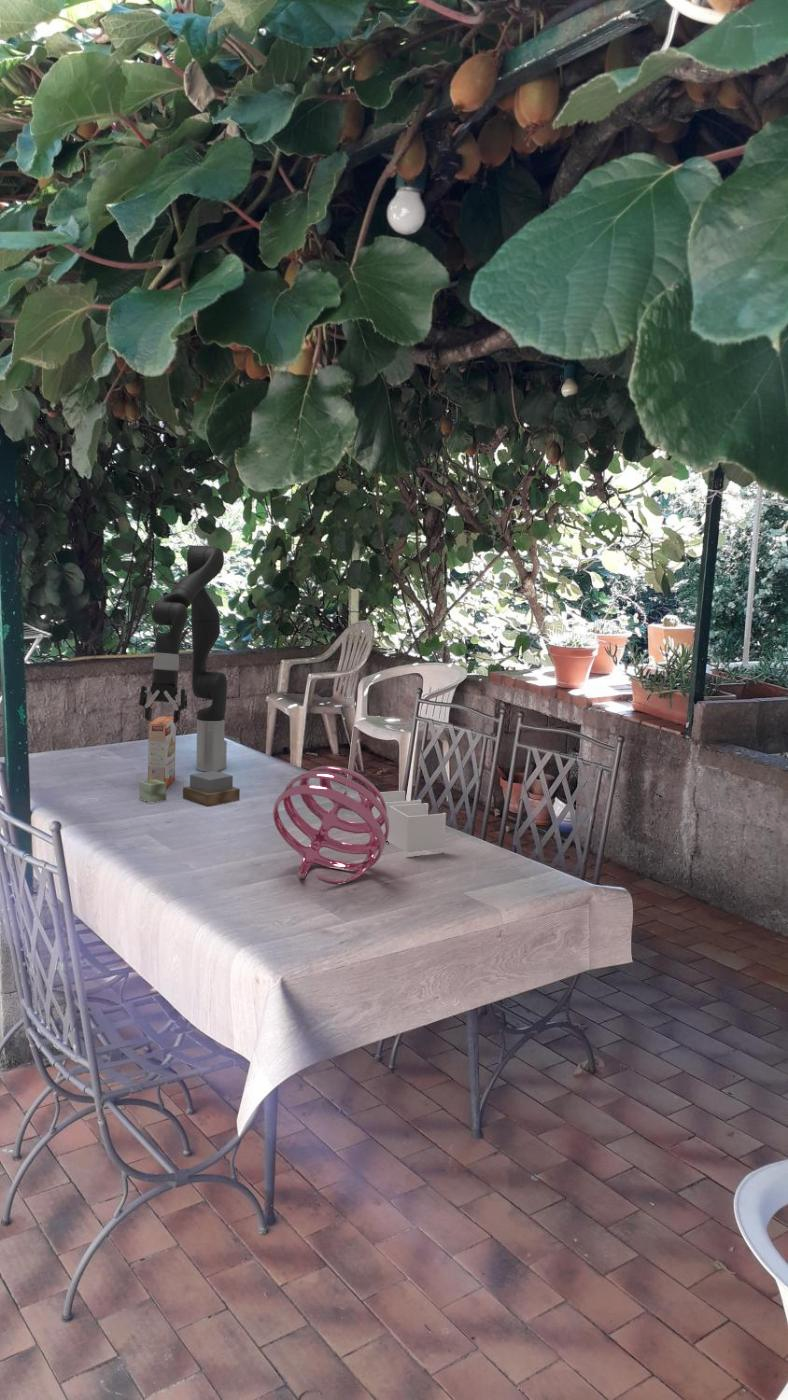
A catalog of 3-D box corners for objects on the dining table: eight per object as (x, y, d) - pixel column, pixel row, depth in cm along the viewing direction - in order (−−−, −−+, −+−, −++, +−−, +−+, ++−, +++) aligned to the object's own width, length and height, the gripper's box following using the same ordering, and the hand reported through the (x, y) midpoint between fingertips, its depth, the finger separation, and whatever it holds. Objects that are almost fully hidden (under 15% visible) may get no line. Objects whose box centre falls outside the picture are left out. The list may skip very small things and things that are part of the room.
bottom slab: (214, 793, 323) (215, 781, 322) (239, 801, 315) (239, 789, 314) (182, 800, 314) (183, 787, 313) (207, 808, 306) (207, 795, 305)
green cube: (155, 797, 314) (155, 779, 314) (165, 800, 311) (166, 782, 310) (139, 799, 310) (139, 782, 310) (150, 803, 307) (150, 785, 306)
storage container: (366, 831, 288) (367, 793, 286) (401, 828, 293) (403, 790, 291) (406, 858, 266) (408, 817, 264) (444, 854, 270) (446, 813, 269)
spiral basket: (327, 824, 223) (372, 737, 241) (230, 831, 238) (279, 748, 256) (385, 907, 237) (423, 819, 255) (290, 909, 252) (332, 826, 270)
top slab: (213, 783, 320) (213, 770, 319) (232, 788, 314) (232, 775, 313) (189, 787, 313) (190, 774, 312) (209, 793, 307) (209, 780, 307)
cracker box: (166, 790, 322) (166, 724, 319) (146, 789, 323) (147, 723, 319) (176, 779, 336) (177, 716, 333) (157, 778, 336) (158, 715, 333)
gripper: (192, 670, 316) (188, 723, 317) (148, 666, 318) (144, 719, 319) (184, 670, 309) (180, 724, 309) (138, 666, 311) (134, 720, 311)
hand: (161, 721), depth 314 cm, fingers open, 8 cm apart
